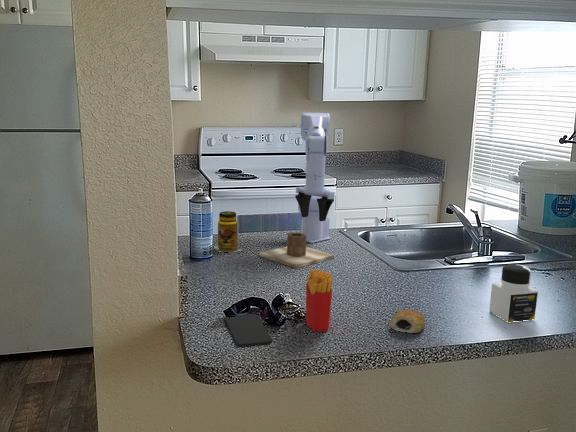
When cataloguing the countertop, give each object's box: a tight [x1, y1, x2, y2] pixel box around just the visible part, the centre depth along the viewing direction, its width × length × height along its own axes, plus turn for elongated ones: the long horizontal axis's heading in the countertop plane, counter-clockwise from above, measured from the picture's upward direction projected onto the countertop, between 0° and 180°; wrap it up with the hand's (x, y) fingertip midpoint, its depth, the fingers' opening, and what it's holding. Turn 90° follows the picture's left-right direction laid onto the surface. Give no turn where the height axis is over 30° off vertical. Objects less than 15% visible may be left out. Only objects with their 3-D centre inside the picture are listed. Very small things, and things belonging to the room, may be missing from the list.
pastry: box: [389, 309, 426, 334], centre depth 123 cm, size 9×7×4 cm
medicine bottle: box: [488, 263, 539, 322], centre depth 129 cm, size 7×7×12 cm
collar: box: [286, 231, 307, 257], centre depth 172 cm, size 6×6×6 cm
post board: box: [258, 246, 335, 269], centre depth 172 cm, size 16×16×5 cm
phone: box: [224, 313, 273, 348], centre depth 119 cm, size 7×1×15 cm
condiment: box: [213, 210, 244, 254], centre depth 178 cm, size 7×8×12 cm
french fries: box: [305, 268, 334, 332], centre depth 121 cm, size 8×4×12 cm, turn 21°
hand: (313, 218), depth 177 cm, fingers open, 7 cm apart
